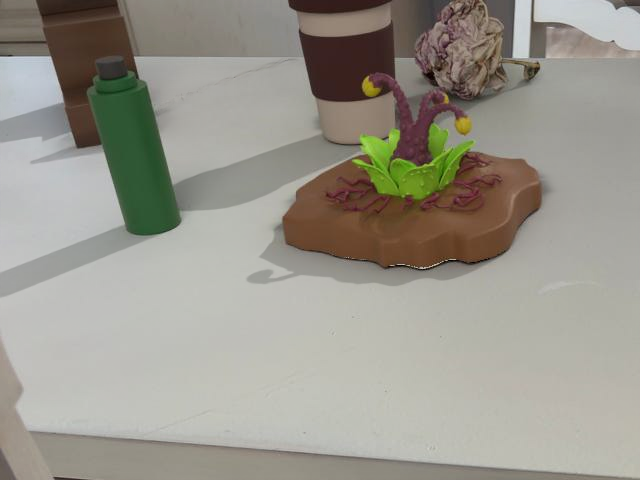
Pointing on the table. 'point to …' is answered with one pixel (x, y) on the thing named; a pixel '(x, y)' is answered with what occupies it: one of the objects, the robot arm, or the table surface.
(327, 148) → the table surface
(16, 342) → the table surface
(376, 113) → the coffee cup
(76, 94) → the rack
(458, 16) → the decorative flower
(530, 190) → the plant
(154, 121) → the green bottle
